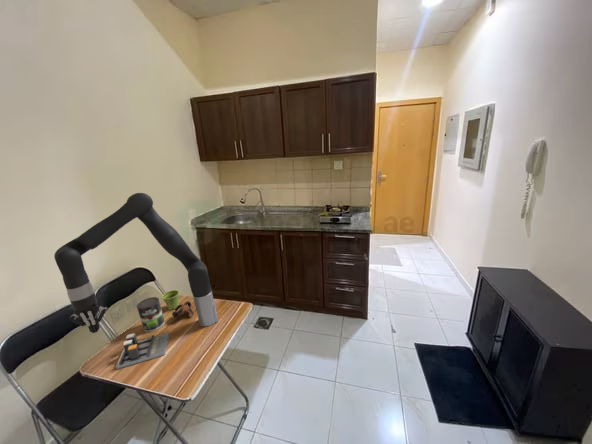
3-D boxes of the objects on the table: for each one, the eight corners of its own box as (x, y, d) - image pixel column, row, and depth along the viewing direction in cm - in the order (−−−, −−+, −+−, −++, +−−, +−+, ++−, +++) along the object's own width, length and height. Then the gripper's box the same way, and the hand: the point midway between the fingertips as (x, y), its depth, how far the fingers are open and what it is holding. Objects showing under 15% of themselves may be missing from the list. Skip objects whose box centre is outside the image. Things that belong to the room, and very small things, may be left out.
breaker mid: (135, 349, 114) (131, 339, 113) (133, 352, 112) (130, 342, 111) (127, 351, 113) (124, 341, 112) (126, 354, 111) (122, 344, 110)
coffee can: (165, 326, 131) (158, 303, 127) (142, 334, 126) (135, 311, 123) (165, 316, 140) (159, 294, 136) (144, 323, 135) (137, 301, 132)
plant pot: (185, 304, 150) (182, 292, 147) (170, 313, 142) (167, 300, 140) (176, 300, 154) (173, 288, 152) (161, 309, 147) (158, 296, 145)
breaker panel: (169, 335, 124) (168, 330, 123) (165, 354, 112) (163, 350, 111) (126, 347, 119) (124, 342, 118) (116, 369, 106) (114, 364, 105)
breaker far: (137, 342, 118) (134, 333, 117) (136, 345, 116) (133, 336, 115) (130, 344, 118) (127, 335, 116) (129, 347, 116) (125, 338, 114)
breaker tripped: (139, 353, 111) (136, 343, 110) (138, 357, 109) (135, 347, 108) (132, 356, 110) (129, 346, 109) (130, 359, 108) (127, 349, 107)
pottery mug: (190, 321, 134) (179, 313, 130) (178, 327, 137) (167, 319, 133) (198, 304, 144) (188, 295, 141) (187, 309, 147) (177, 301, 144)
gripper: (105, 286, 103) (117, 321, 107) (66, 294, 99) (80, 330, 103) (97, 295, 96) (111, 332, 100) (56, 304, 92) (71, 342, 97)
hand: (95, 331), depth 102 cm, fingers closed
